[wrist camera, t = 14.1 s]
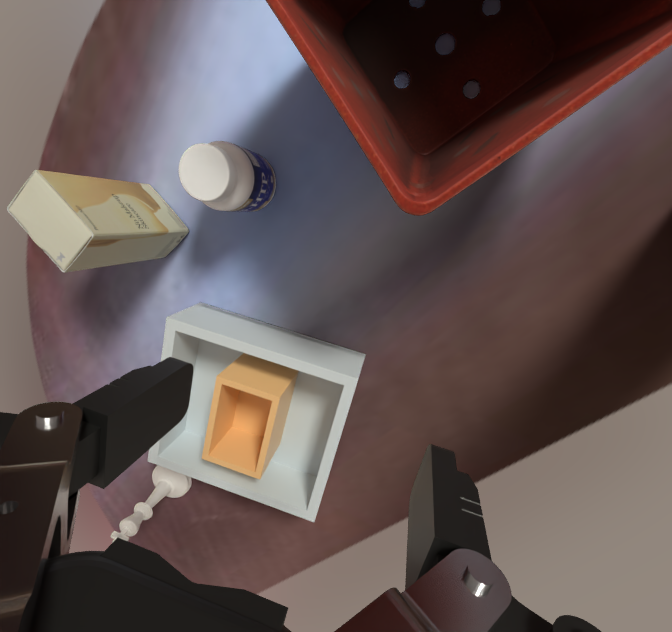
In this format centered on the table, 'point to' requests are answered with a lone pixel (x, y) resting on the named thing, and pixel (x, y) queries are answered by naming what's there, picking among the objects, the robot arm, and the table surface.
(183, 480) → the chess piece
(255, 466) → the small crate
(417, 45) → the plant pot
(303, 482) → the big crate
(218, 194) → the pill bottle
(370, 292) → the table surface
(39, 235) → the skincare box
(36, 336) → the table surface
